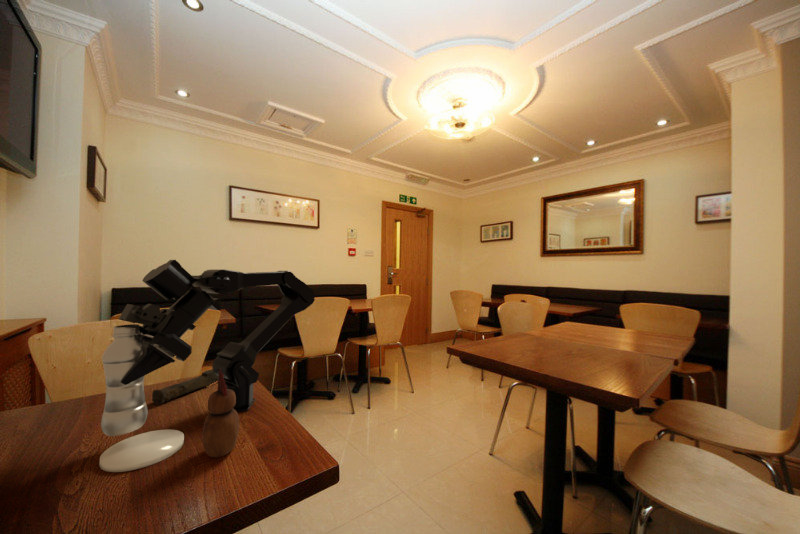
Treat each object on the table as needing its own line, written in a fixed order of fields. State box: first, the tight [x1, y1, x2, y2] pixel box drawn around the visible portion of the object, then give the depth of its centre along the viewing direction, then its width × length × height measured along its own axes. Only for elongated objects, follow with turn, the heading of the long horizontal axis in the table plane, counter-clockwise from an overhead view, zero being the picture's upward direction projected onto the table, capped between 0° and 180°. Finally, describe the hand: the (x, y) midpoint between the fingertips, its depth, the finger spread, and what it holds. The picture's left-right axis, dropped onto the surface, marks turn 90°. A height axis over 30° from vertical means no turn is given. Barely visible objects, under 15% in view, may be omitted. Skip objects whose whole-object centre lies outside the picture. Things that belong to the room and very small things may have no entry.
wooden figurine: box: [202, 369, 240, 458], centre depth 57 cm, size 7×6×15 cm
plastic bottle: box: [100, 323, 149, 437], centre depth 58 cm, size 6×7×20 cm
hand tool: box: [151, 368, 219, 406], centre depth 85 cm, size 19×4×5 cm, turn 159°
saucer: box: [99, 429, 185, 473], centre depth 57 cm, size 12×12×1 cm
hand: (116, 380), depth 56 cm, fingers closed on plastic bottle, 6 cm apart
